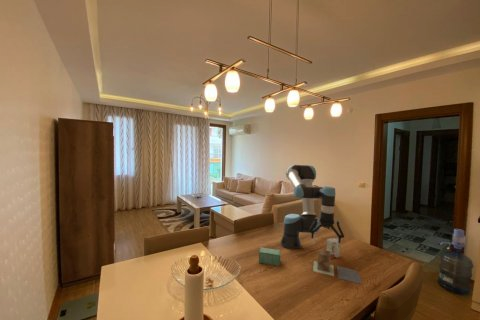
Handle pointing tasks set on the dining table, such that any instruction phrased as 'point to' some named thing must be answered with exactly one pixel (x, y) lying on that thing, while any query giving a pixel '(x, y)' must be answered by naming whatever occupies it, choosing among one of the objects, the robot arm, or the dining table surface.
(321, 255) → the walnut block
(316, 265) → the tile
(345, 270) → the mat
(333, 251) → the ink box
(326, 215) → the robot arm
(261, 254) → the box
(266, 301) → the dining table surface
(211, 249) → the dining table surface
